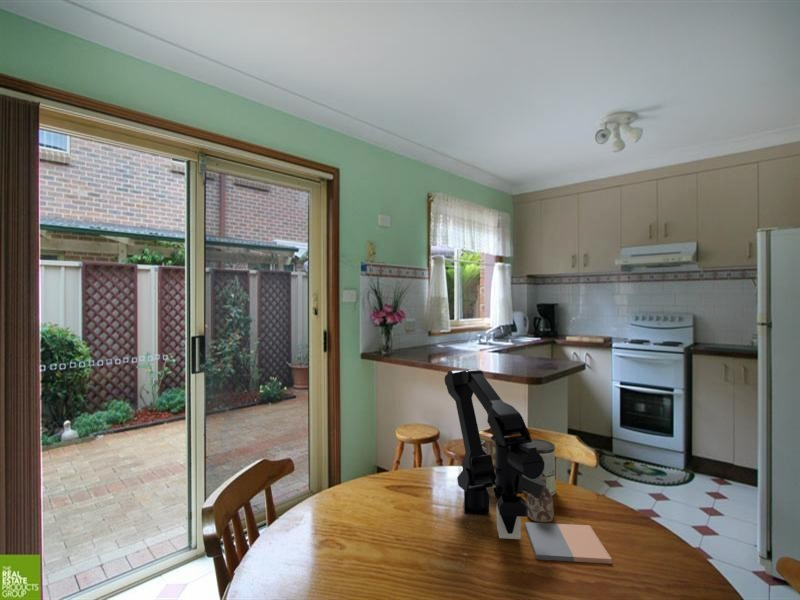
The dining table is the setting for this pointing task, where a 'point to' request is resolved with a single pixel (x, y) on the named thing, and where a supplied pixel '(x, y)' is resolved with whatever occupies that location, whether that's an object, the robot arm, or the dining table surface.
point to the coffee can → (546, 461)
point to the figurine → (541, 505)
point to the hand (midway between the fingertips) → (508, 527)
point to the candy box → (488, 445)
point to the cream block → (503, 531)
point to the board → (566, 543)
